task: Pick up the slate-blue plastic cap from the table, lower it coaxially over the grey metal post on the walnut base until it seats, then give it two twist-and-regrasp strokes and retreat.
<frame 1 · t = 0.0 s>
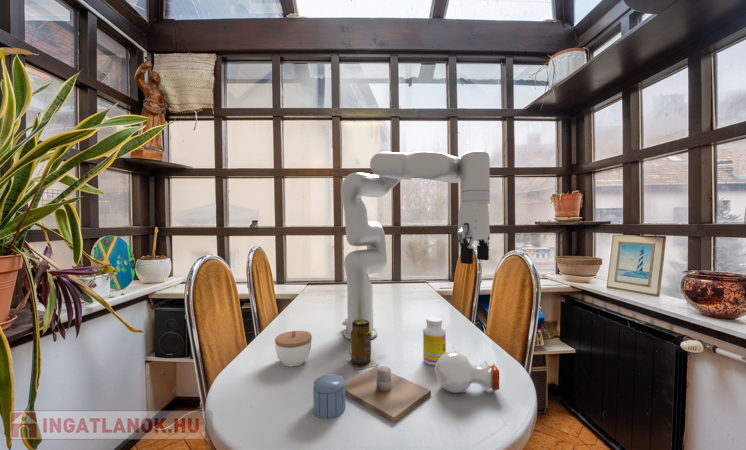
hand: (475, 261, 83), 31 cm above the table, tool pointing down, fingers open, 9 cm apart
lidded jar: (293, 362, 92), on the table
condiment: (361, 362, 92), on the table
supplement bottle: (434, 362, 92), on the table
potion bottle: (465, 390, 76), on the table
post base: (383, 392, 75), on the table
cap: (329, 408, 69), on the table
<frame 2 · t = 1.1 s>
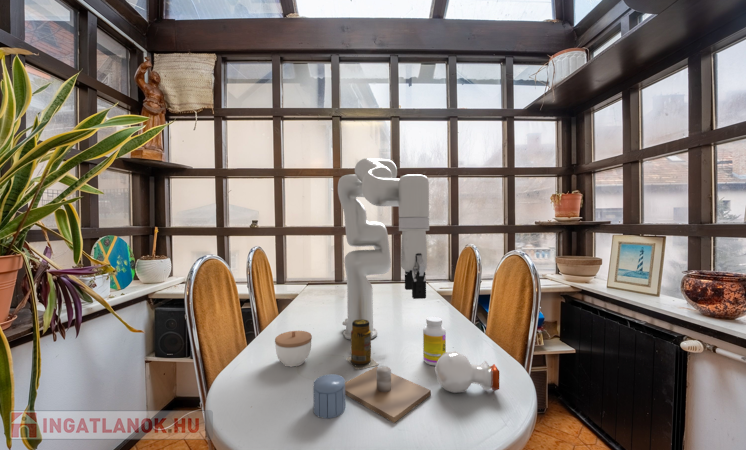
hand: (414, 293, 76), 24 cm above the table, tool pointing down, fingers open, 9 cm apart
nothing on the table moved.
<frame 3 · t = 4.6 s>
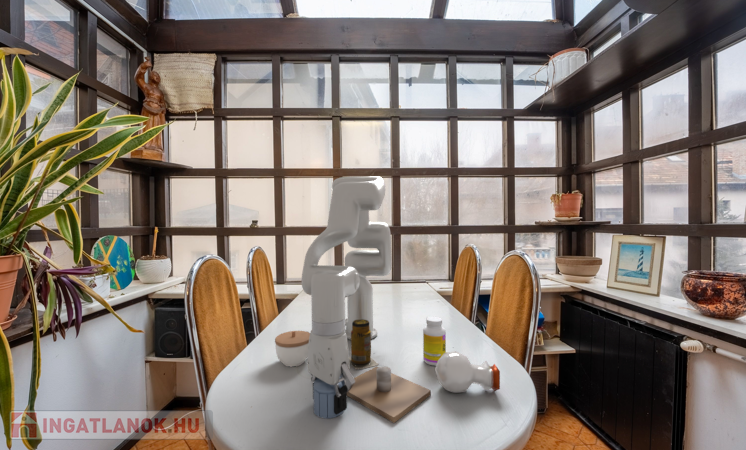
hand: (329, 403, 69), 1 cm above the table, tool pointing down, fingers closed on cap, 7 cm apart
cap: (329, 408, 69), on the table, touching gripper
everything else where it was.
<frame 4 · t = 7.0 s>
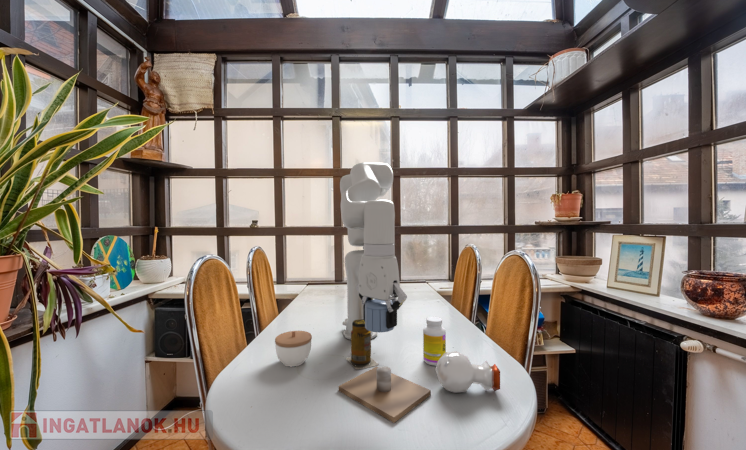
hand: (379, 322, 75), 18 cm above the table, tool pointing down, fingers closed on cap, 7 cm apart
cap: (379, 327, 75), point 16 cm above the table, touching gripper
everything else where it was.
when the fingers open (4 cm above the table, at t = 9.5 s): cap drops 1 cm, resting on post base.
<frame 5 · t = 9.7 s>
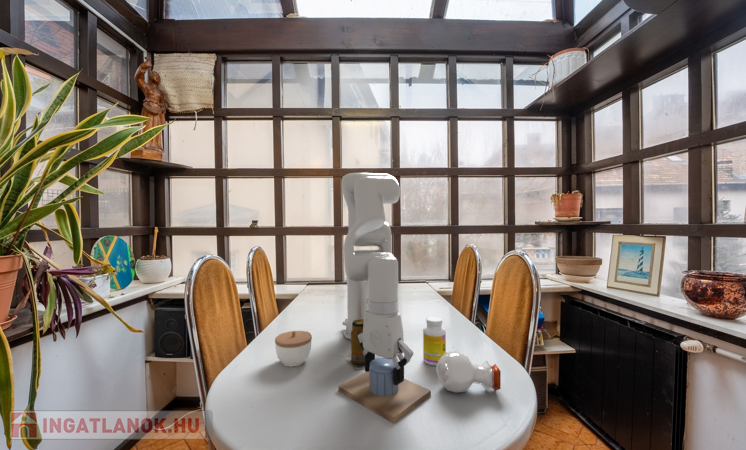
hand: (383, 376, 75), 4 cm above the table, tool pointing down, fingers open, 9 cm apart
cap: (384, 388, 75), point 1 cm above the table, touching post base
everything else where it was.
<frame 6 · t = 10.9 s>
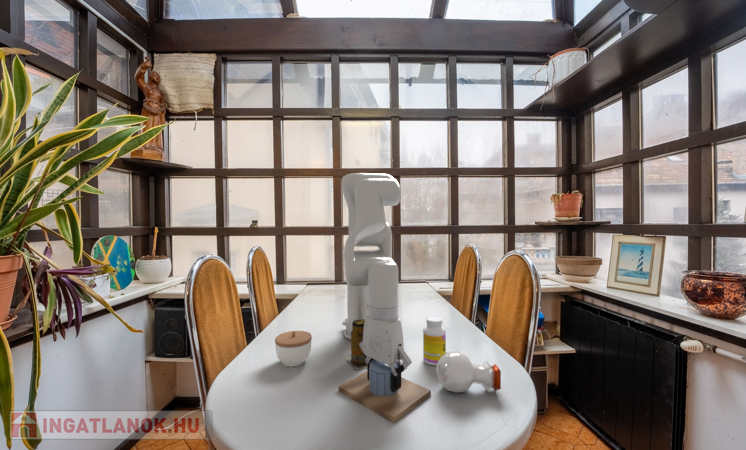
hand: (383, 383, 75), 2 cm above the table, tool pointing down, fingers closed on cap, 7 cm apart
cap: (384, 388, 75), point 1 cm above the table, touching gripper, post base
everything else where it was.
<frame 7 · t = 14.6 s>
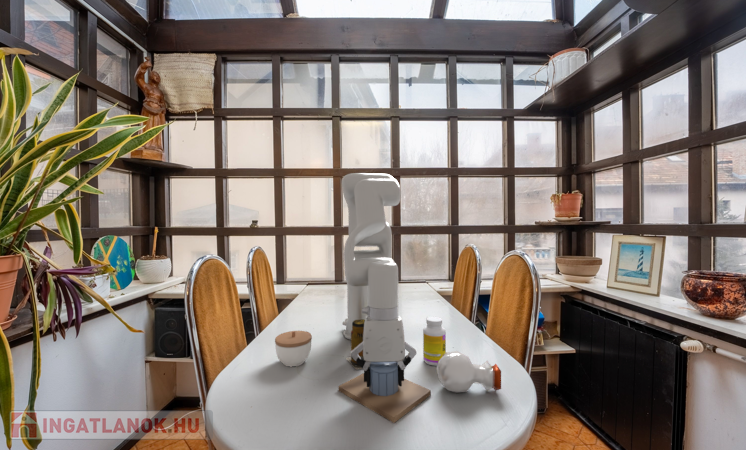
hand: (383, 383, 75), 2 cm above the table, tool pointing down, fingers closed on cap, 7 cm apart
cap: (383, 387, 75), point 1 cm above the table, touching gripper
everything else where it was.
when the fingers open (2 cm above the table, at t = 15.2 s): cap stays where it is, resting on post base.
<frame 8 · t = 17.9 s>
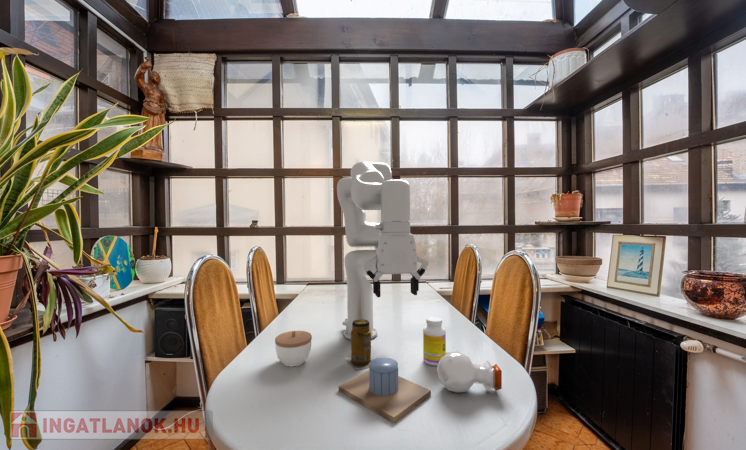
hand: (396, 295, 79), 23 cm above the table, tool pointing down, fingers open, 9 cm apart
cap: (383, 387, 75), point 1 cm above the table, touching post base
everything else where it was.
at the end: cap 0.1 cm off-centre on the post base, point 1.2 cm above the post base's base; the gripper is holding nothing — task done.
